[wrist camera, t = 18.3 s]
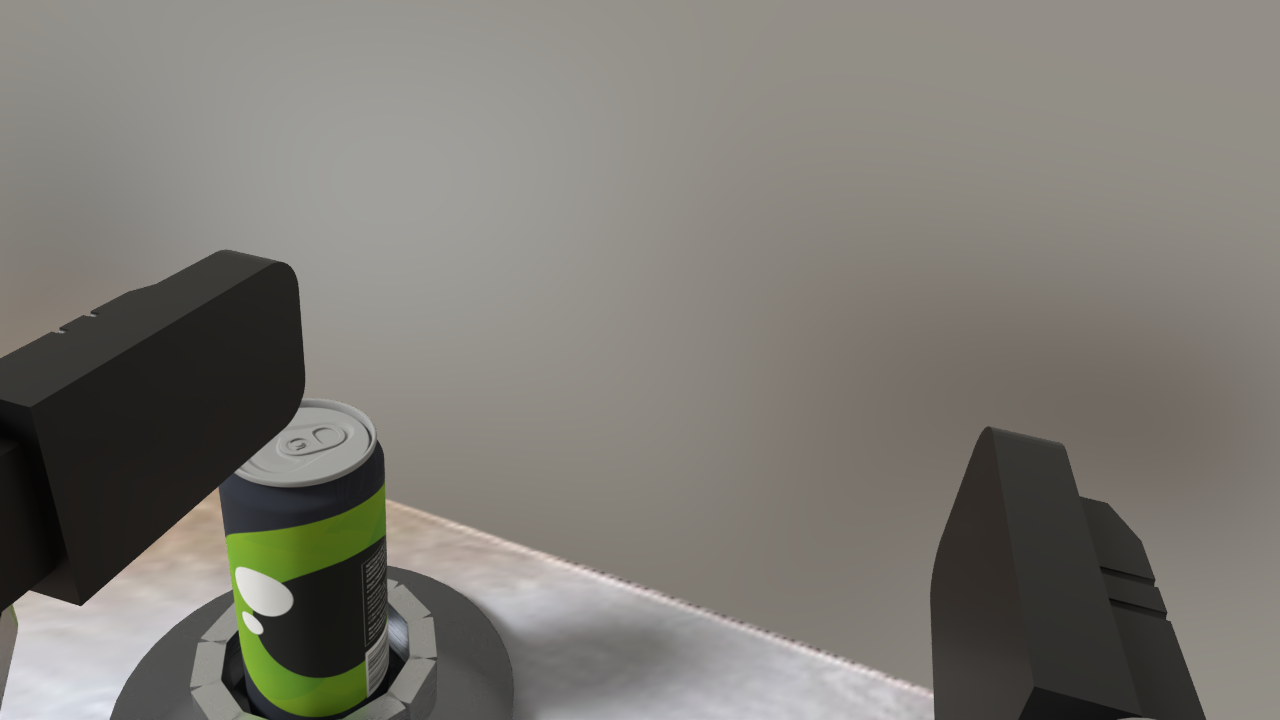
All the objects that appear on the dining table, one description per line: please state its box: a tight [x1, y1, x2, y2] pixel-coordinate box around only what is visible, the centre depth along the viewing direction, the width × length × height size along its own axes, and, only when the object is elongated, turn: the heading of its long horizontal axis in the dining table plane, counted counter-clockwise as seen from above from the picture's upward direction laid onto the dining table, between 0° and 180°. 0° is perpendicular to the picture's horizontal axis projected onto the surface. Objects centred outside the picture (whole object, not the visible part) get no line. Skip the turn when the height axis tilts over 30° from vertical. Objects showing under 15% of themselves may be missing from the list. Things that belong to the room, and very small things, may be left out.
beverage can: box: [219, 398, 390, 720], centre depth 39 cm, size 6×6×15 cm
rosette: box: [110, 566, 514, 720], centre depth 42 cm, size 18×18×4 cm
